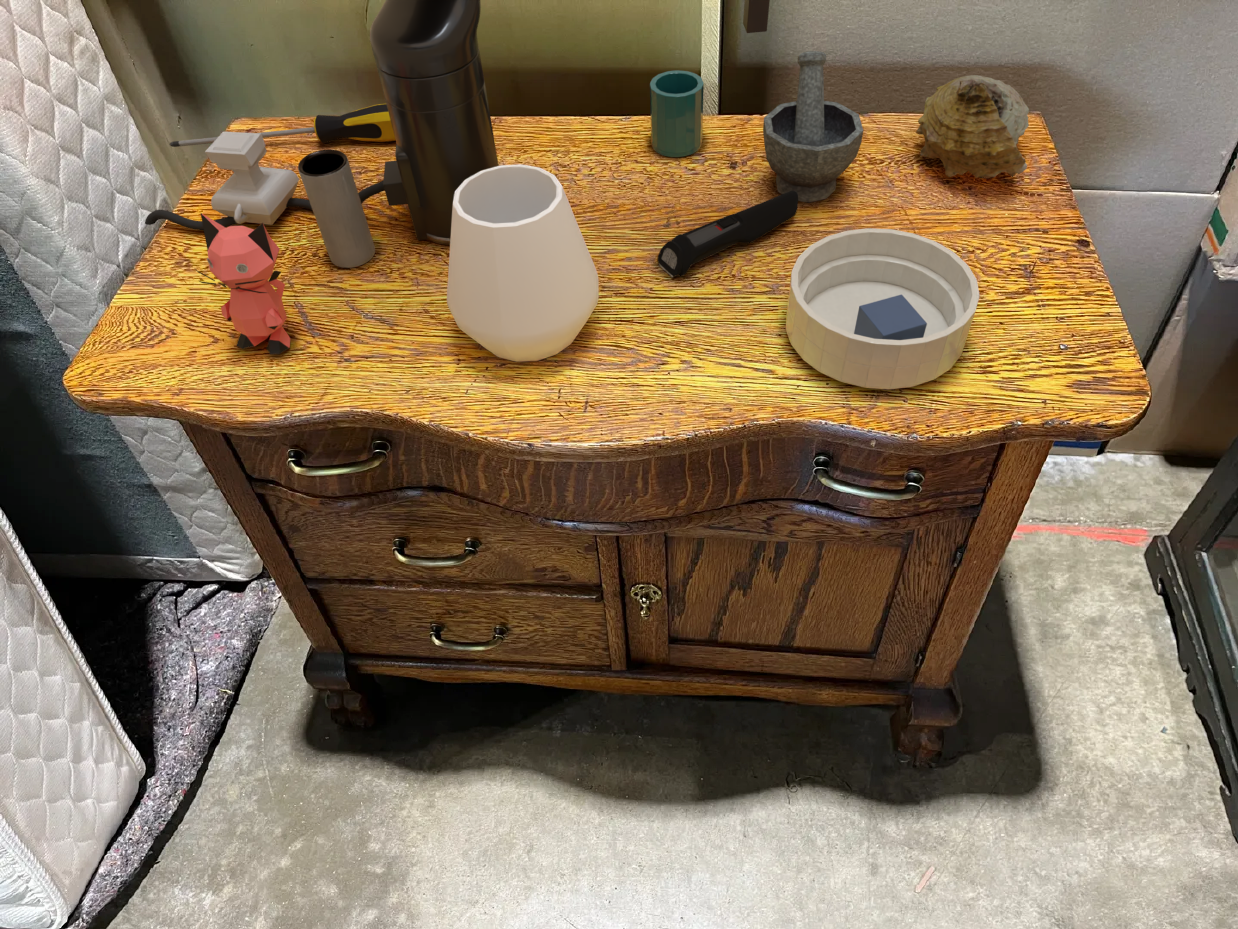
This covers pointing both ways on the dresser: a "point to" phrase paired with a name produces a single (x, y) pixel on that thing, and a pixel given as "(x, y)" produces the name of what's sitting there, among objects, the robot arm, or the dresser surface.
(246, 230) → the cat figurine
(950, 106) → the seashell
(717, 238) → the electric trimmer
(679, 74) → the cup
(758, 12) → the stick
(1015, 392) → the dresser surface
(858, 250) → the bowl
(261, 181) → the stamp
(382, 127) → the screwdriver
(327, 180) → the grey hollow cylinder
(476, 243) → the cup
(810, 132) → the mortar and pestle
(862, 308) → the block
